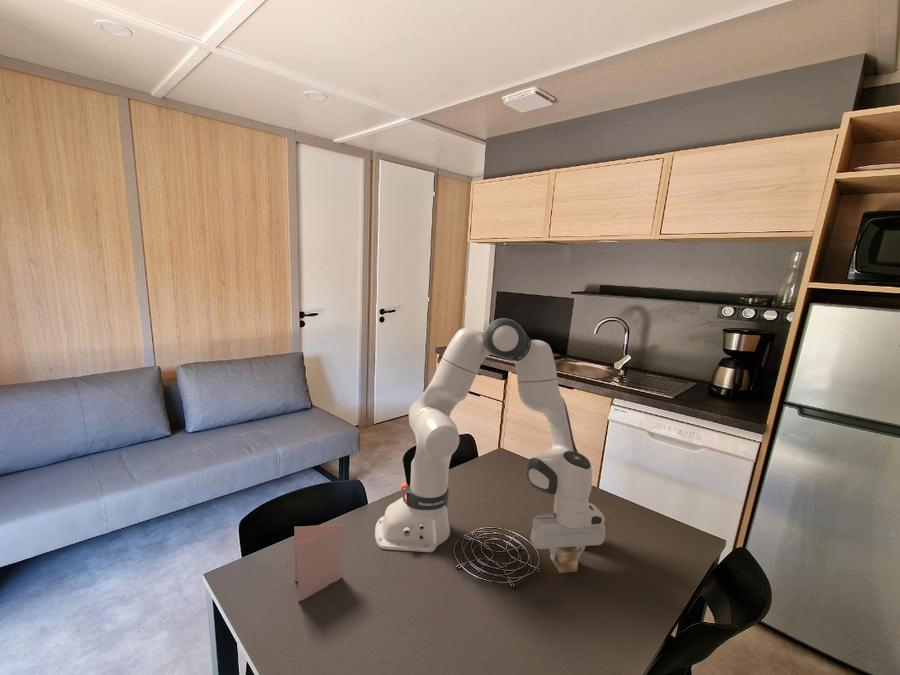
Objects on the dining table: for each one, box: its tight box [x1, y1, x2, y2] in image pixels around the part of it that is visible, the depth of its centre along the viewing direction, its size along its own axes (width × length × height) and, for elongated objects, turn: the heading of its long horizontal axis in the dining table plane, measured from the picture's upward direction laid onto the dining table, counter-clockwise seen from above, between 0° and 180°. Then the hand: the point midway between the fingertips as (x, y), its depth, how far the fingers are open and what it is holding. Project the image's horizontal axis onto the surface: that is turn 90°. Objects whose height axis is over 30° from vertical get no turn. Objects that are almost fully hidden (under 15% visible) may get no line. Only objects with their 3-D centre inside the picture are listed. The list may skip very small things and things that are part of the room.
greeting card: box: [293, 523, 344, 603], centre depth 95 cm, size 11×7×15 cm, turn 100°
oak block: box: [552, 547, 579, 574], centre depth 109 cm, size 5×5×6 cm
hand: (564, 558), depth 109 cm, fingers closed on oak block, 5 cm apart
